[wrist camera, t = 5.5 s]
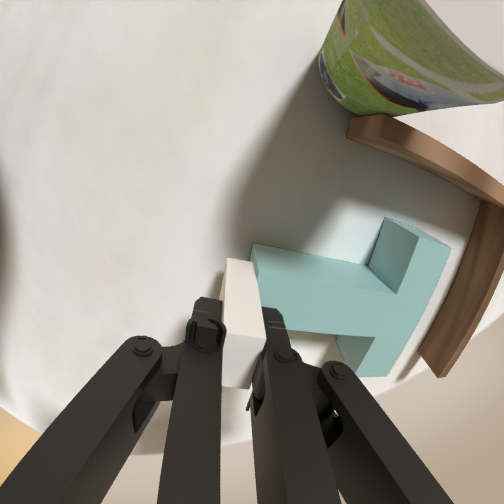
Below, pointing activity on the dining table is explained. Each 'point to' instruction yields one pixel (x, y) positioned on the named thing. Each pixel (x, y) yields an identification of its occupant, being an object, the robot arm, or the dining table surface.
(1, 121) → the dining table surface
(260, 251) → the t block
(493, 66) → the beverage can
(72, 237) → the dining table surface
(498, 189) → the corner fence
